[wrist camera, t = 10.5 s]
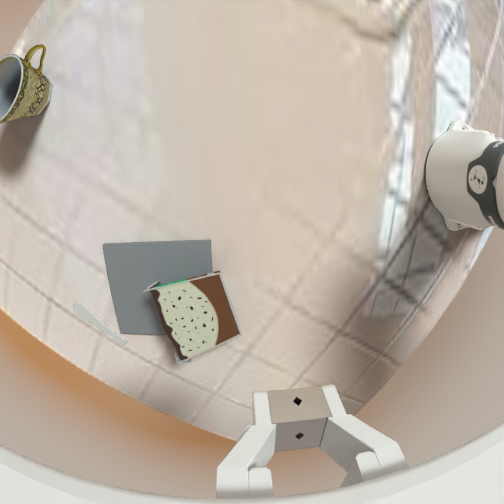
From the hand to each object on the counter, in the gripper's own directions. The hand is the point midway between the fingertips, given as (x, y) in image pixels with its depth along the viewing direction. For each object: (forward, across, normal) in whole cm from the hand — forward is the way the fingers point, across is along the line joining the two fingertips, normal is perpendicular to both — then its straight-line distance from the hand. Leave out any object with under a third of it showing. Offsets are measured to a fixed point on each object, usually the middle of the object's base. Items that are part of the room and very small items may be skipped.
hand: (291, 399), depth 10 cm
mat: (+31, +14, +10) cm, 35 cm away
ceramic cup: (+31, +32, -23) cm, 50 cm away
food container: (+29, +3, +10) cm, 31 cm away
